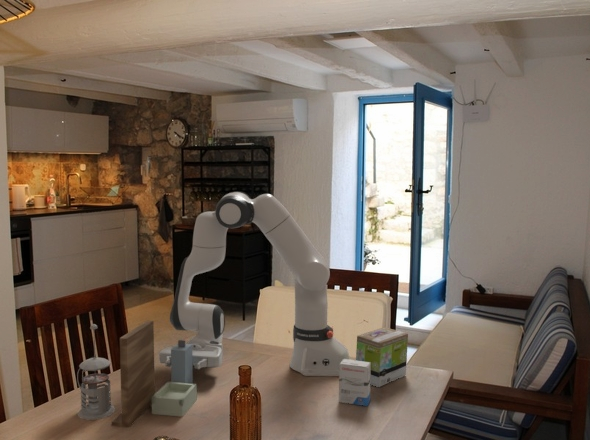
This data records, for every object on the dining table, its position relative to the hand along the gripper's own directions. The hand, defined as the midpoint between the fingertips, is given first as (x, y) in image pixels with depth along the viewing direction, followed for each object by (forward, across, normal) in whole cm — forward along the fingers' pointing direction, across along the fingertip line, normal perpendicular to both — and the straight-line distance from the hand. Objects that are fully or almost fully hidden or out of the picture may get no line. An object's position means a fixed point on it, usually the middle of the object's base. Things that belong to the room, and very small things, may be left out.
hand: (181, 365), depth 172 cm
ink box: (-1, +53, +7) cm, 53 cm away
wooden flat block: (+19, -6, +7) cm, 21 cm away
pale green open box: (+13, +3, +7) cm, 15 cm away
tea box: (-21, +60, +7) cm, 64 cm away
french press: (+20, -18, +7) cm, 28 cm away
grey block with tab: (0, 0, +7) cm, 7 cm away
